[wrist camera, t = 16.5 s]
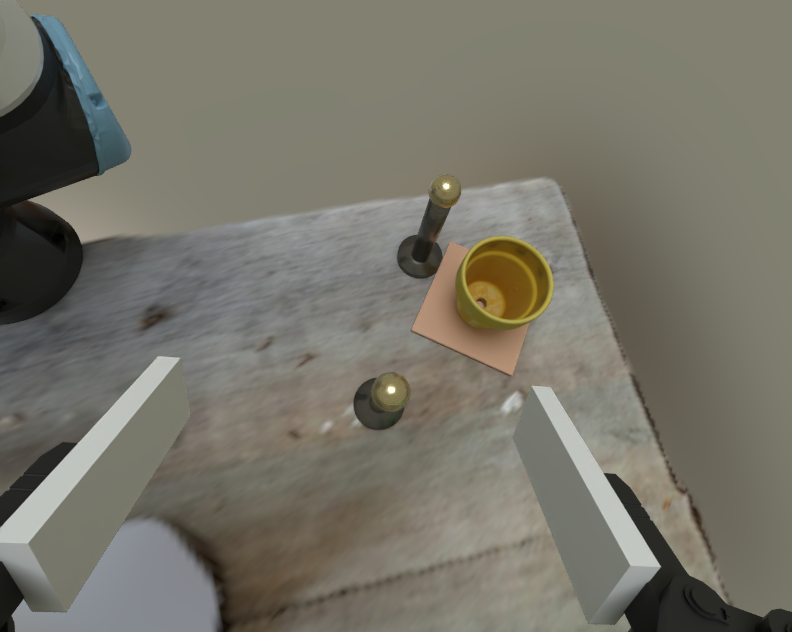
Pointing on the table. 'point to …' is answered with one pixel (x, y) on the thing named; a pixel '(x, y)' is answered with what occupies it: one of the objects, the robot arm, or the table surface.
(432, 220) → the iron post
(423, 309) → the terracotta tile
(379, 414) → the iron post
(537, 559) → the table surface
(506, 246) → the plant pot
